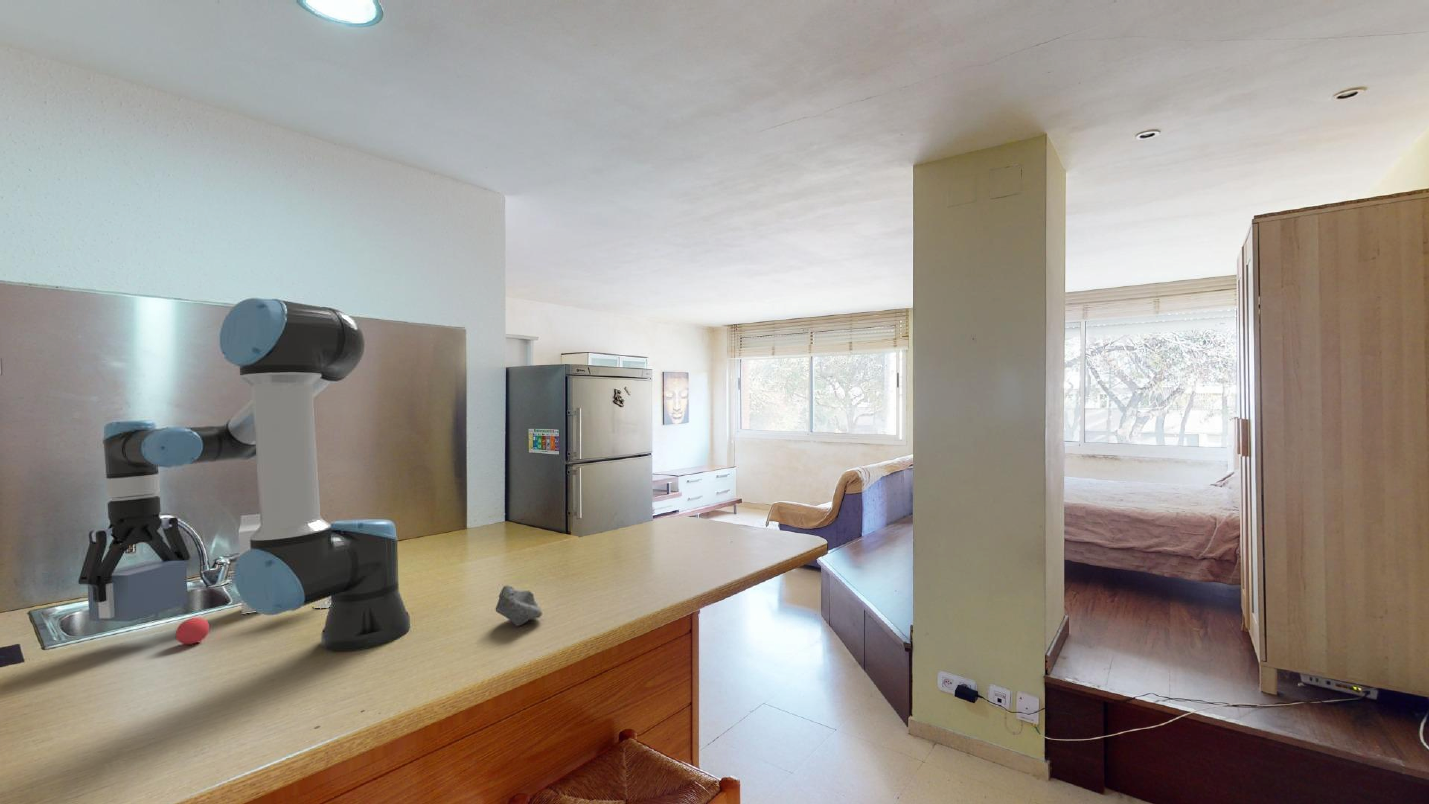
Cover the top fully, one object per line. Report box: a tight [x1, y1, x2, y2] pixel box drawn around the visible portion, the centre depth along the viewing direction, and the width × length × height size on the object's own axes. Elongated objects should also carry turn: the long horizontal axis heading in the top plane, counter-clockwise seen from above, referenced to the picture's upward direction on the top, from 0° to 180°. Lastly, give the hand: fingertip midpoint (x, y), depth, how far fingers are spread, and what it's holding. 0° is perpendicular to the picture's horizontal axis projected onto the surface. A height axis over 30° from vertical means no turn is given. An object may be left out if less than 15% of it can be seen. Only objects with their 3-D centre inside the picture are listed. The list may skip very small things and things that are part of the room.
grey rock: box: [495, 585, 543, 627], centre depth 119 cm, size 11×9×8 cm
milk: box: [238, 513, 261, 615], centre depth 135 cm, size 6×6×22 cm
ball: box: [175, 617, 210, 645], centre depth 116 cm, size 5×5×5 cm
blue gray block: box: [87, 560, 189, 622], centre depth 117 cm, size 10×10×9 cm
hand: (140, 607), depth 117 cm, fingers closed on blue gray block, 10 cm apart
